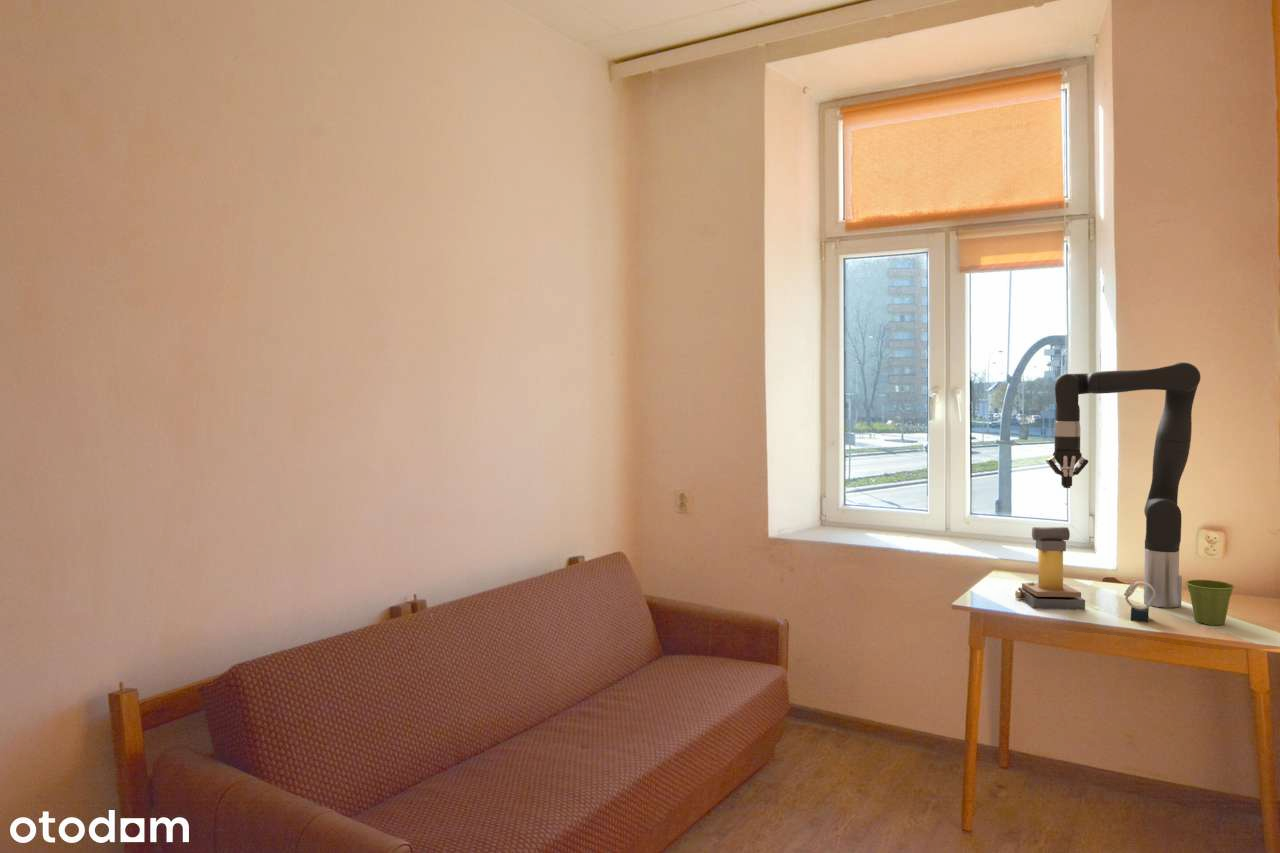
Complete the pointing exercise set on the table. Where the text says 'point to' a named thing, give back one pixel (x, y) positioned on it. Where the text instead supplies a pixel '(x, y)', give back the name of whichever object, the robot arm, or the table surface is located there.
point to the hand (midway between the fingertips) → (1066, 487)
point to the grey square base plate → (1050, 601)
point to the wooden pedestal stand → (1050, 563)
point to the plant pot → (1210, 600)
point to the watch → (1137, 611)
